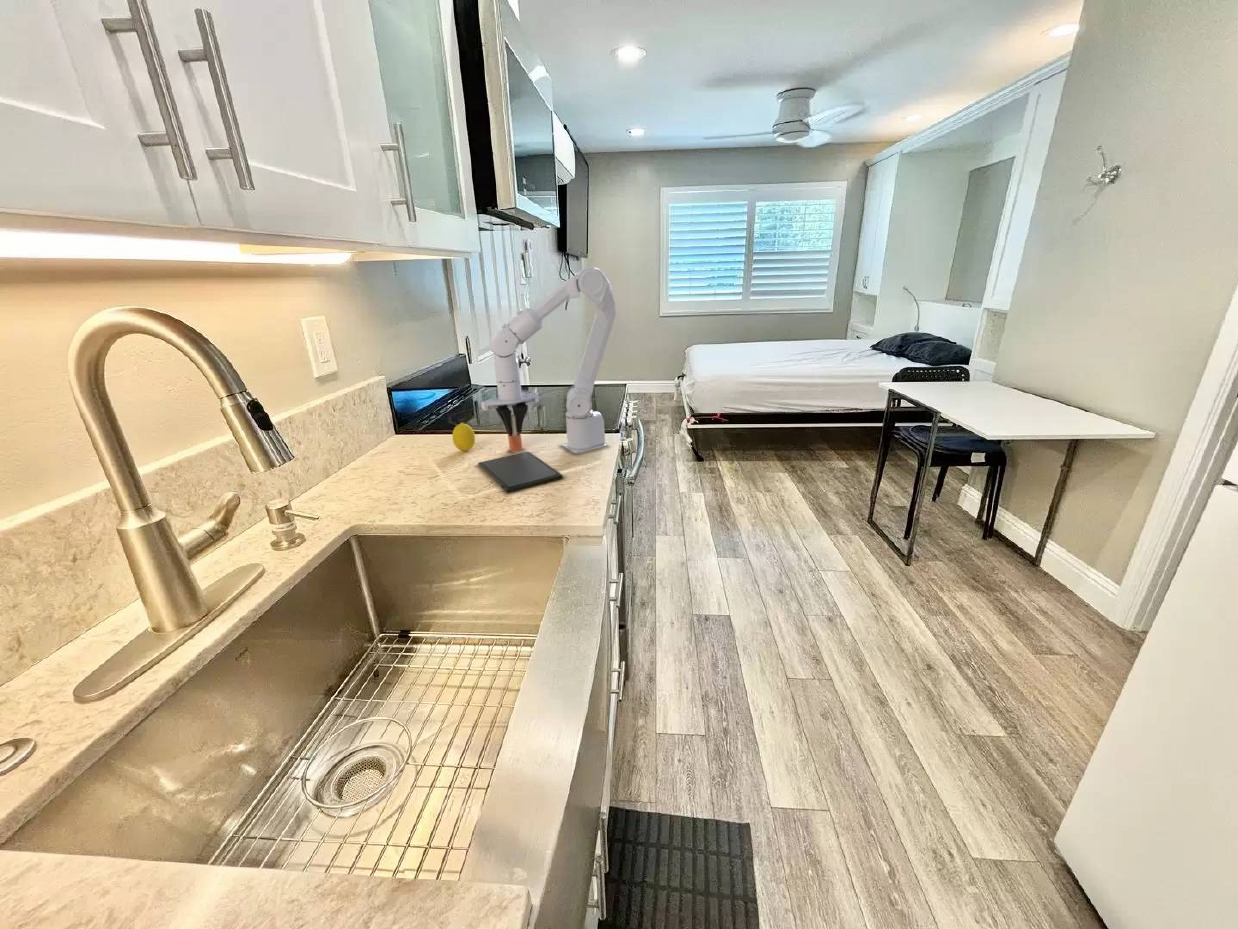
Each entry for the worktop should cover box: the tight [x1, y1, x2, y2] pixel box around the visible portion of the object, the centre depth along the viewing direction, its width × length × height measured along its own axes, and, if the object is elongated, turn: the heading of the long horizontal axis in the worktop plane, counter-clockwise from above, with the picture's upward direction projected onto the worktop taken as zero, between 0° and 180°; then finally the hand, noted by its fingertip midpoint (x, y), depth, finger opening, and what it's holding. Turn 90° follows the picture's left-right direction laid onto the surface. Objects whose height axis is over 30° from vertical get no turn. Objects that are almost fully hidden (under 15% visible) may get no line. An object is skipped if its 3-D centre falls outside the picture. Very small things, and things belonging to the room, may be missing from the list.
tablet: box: [477, 451, 563, 494], centre depth 114 cm, size 13×19×1 cm
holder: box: [507, 432, 523, 452], centre depth 127 cm, size 3×3×4 cm
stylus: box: [511, 414, 518, 436], centre depth 126 cm, size 1×1×9 cm
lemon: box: [452, 422, 476, 452], centre depth 126 cm, size 6×6×8 cm
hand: (514, 432), depth 126 cm, fingers closed
